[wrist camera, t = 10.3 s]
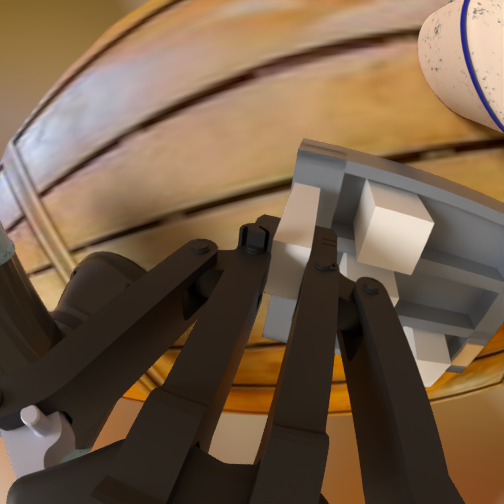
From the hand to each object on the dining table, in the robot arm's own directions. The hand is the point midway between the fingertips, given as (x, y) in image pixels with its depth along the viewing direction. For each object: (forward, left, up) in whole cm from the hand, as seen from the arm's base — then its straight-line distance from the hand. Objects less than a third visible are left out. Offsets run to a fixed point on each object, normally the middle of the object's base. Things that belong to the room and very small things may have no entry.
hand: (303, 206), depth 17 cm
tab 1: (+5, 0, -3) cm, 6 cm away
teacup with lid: (+9, +13, -5) cm, 17 cm away
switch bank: (+10, -6, -5) cm, 13 cm away
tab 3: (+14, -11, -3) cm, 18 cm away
